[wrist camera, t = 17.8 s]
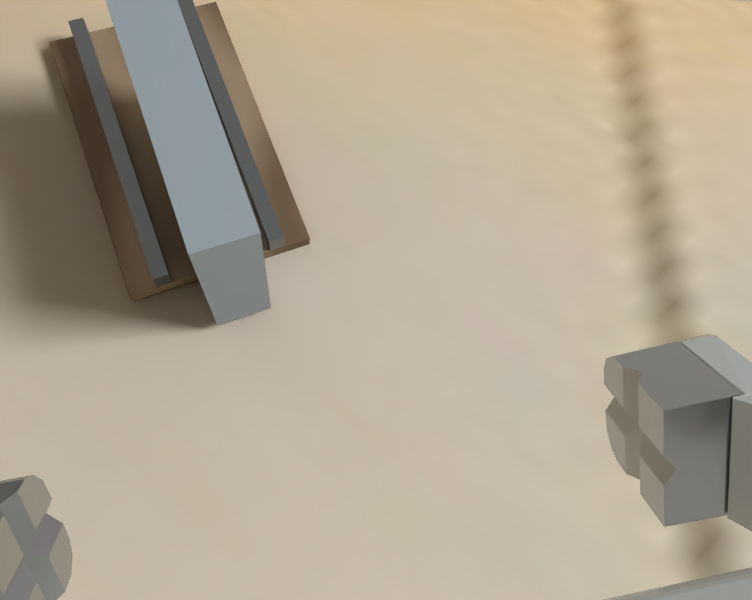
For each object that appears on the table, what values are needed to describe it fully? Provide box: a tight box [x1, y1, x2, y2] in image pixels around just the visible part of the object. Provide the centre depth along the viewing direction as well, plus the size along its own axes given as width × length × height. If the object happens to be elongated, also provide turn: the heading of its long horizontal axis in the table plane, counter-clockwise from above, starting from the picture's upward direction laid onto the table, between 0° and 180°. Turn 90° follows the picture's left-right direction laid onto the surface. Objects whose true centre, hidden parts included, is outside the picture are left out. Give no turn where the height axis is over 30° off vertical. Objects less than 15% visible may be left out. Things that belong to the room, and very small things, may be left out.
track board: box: [50, 0, 310, 301], centre depth 47 cm, size 12×20×2 cm, turn 22°
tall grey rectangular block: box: [106, 0, 271, 325], centre depth 40 cm, size 4×16×12 cm, turn 21°
